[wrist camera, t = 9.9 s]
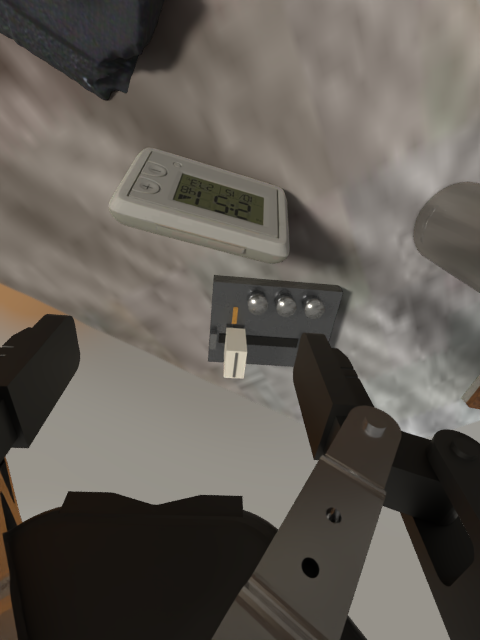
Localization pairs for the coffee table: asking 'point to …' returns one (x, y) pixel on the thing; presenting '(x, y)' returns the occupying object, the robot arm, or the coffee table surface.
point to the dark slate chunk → (84, 37)
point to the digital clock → (203, 206)
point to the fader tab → (235, 353)
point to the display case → (473, 395)
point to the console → (270, 316)
